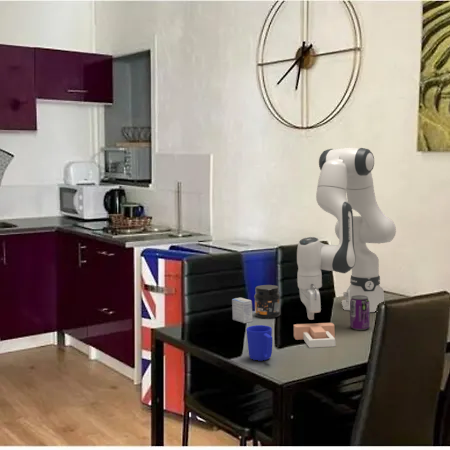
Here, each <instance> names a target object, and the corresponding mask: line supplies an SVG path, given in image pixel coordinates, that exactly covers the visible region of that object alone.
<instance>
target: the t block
mask: <svg viewBox="0 0 450 450" xmlns="http://www.w3.org/2000/svg"><path fill="white" fill-rule="evenodd" d="M326 331H329V333H330V334H331V335H332V336H333V337H334V338H335V339H336V333H335V324H334V323H333V322H318V323H316V322H315V323H296V324H293V338H294V339H295V340H297V341H298V340H304V339H303V332H308V334H309V335H310V336H311V337H312V339H324V338H326Z"/></svg>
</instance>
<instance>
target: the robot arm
mask: <svg viewBox="0 0 450 450" xmlns="http://www.w3.org/2000/svg"><path fill="white" fill-rule="evenodd" d="M374 157H375V156H374V154H373V153H372V151H371V150H370V149H369V148H363V147H342V148H340V147H339V148H330V149H329V148H328V149H325V150H324V151H322V153H320V156H319V157H318V165H319V169H320V173H319V176H318V181H317V187H316V195H315V199H316V203H317V205H318V206H319V207H320V208H321V210H323V211H324V212H325V213H328V214H329V215H332V216H333V217H335V218H336V220H337V221H336V223H335V225H334V226H335V227H334V231H335V232H334V233H335V235H336V237H337V238H338V241H339V243H338V244H337V245H335V244H325V243H322V242H321V241H319V238H318V237H314V236H312V237H311V236H310V237H304V238H302V239H300V240H299V241H298V243H297V244H298V245H297V247H296V248H297V249H296V264H297V268H298V269H297V276H296V277H297V278H296V282H297V288H298V289H299V290H298V293H299V298H300V301H301V302H302V304H303V305H304V306H305V308H306V313H307V318H308V320H311V321H312V320H315V314H317V313H321V310H322V308H321V307H322V305H321V303H322V302H321V294H320V290H319V289H321V288H322V287H323V279H322V277H323V275H322V270H323V271H328V272H330V271H331V272H336V273H340V274H346V273H348V272H350V271H351V275H350V281H349V283H350V284H349V286H348V288H347V289H346V291H343V294H342V295H343V298H345V299H342V300H341V302H342V303H341V307H342V306H343V307H342V309H344V311H350V301H351V299H352V298H351V297H352V296H355V295H363V296H367V297H368V300H369V308H370V313H374V312H375V311H376V307H377V305H378V304H379V303H381V302H383V301H384V302H385V297H384V296H385V294H384V293H385V292H384V288H382V287H381V285H380V284H381V277H380V273H379V272H380V271H379V268H380V264H379V263H380V261H379V257H378V255H377V254H376V253H375V252H373V251H371V250H370V249H369V248H368V246H367V244H378V245H379V244H385V243H390V242H391V241H392V240H394V238H395V236H396V233H397V228H396V224H395V222H394V221H393V220H392V219H391V218H389V217H388V216H387V215H385V213H384V212H383V211H382V209H380V207H379V205H378V202H377V200H376V199H377V198H376V194H375V186H374V179H373V174H372V171H373V169H374V166H375V158H374ZM353 211H355V212H357V213H358V214H359V216H357V215H356V216H355V215H354V213H353ZM375 313H376V312H375Z"/></svg>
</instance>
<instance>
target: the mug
mask: <svg viewBox="0 0 450 450" xmlns="http://www.w3.org/2000/svg"><path fill="white" fill-rule="evenodd" d="M272 334H273V329H272V327H271V326H269V325H265V324H263V325H262V324H261V325H260V324H259V325H256V324H255V325H251V326H248V327H247V328H246V338H247V348H248V349H247V351H248V356H249V359H251V360H252V359H253V360H252V361H255V360H258V362H263V360H264V361H267V360H269V359H271V357H272V353H273V336H272Z"/></svg>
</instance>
